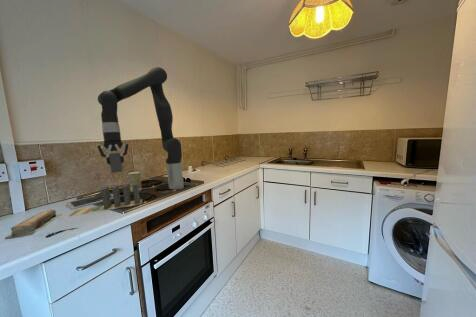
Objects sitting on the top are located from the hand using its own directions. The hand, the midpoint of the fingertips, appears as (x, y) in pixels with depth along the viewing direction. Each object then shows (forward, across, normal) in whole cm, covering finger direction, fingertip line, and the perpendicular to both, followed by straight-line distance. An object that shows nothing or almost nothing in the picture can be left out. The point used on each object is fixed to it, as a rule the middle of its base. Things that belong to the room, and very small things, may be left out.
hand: (115, 163), depth 101 cm
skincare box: (+22, -9, -22) cm, 32 cm away
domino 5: (+21, -8, +8) cm, 23 cm away
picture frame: (+23, +14, -14) cm, 30 cm away
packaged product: (+23, +30, +8) cm, 39 cm away
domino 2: (+4, 0, 0) cm, 4 cm away
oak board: (+22, +5, +6) cm, 23 cm away
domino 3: (+21, +1, +7) cm, 22 cm away
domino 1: (+21, +6, +6) cm, 22 cm away
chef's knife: (+23, +15, +21) cm, 34 cm away
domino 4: (+21, -3, +7) cm, 22 cm away
